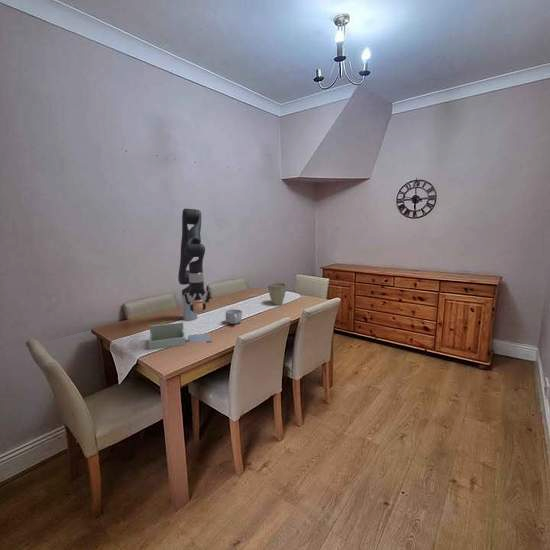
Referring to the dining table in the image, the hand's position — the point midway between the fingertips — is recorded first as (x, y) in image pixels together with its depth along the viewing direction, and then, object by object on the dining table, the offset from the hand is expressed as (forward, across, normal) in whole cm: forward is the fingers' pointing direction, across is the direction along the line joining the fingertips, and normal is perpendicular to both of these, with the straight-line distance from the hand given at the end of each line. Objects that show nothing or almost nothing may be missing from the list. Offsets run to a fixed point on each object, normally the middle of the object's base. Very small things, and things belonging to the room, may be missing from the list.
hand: (198, 310), depth 169 cm
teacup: (+17, -24, -20) cm, 36 cm away
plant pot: (+17, -66, -53) cm, 86 cm away
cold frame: (+17, +17, 0) cm, 24 cm away
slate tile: (+17, 0, 0) cm, 17 cm away
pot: (+1, 0, 0) cm, 1 cm away
